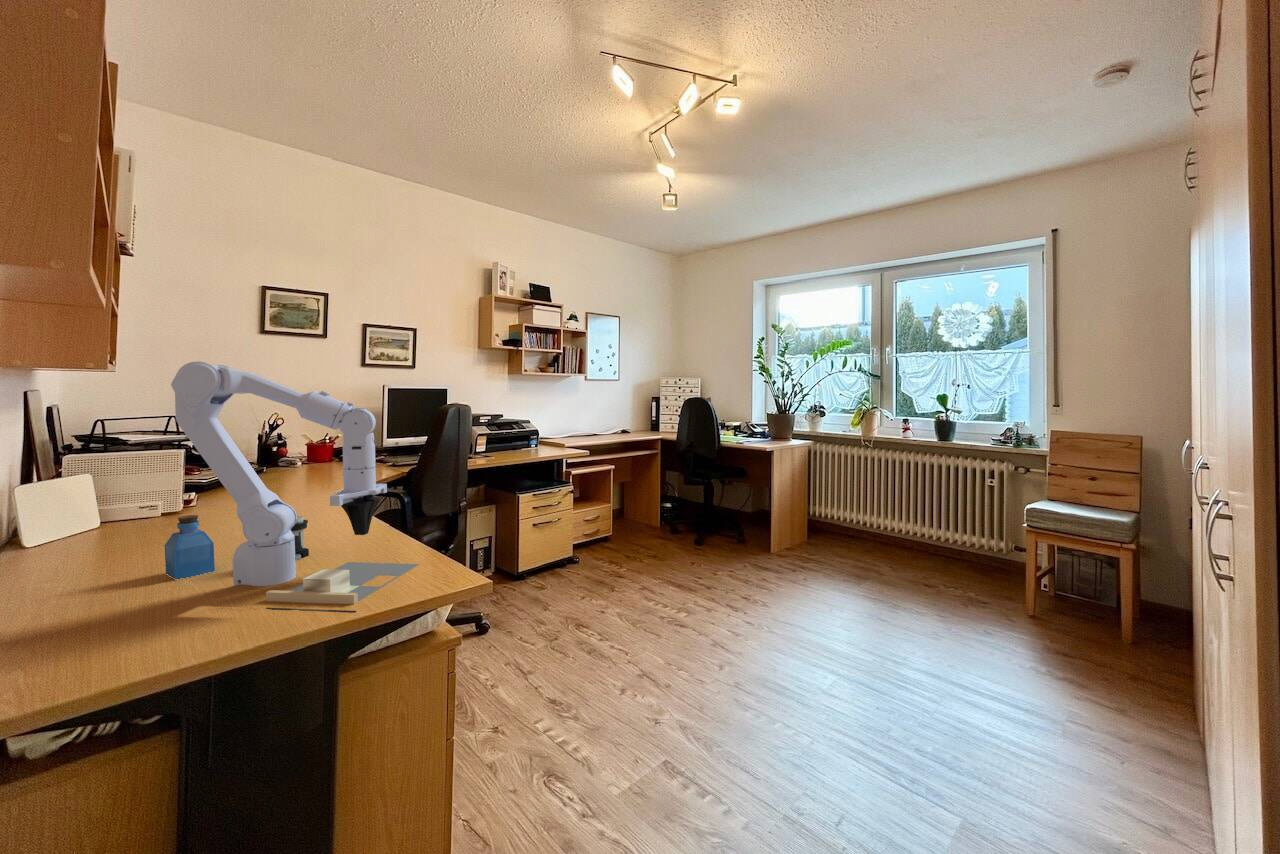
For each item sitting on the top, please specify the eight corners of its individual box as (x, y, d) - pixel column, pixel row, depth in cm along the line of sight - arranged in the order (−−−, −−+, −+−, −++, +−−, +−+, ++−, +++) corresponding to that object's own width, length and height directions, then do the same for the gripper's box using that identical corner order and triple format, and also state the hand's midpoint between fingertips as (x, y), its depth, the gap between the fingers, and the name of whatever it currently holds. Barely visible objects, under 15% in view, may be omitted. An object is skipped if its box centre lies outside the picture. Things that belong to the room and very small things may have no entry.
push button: (282, 569, 106) (280, 523, 106) (268, 565, 109) (266, 520, 108) (314, 560, 112) (312, 516, 112) (300, 557, 115) (298, 514, 114)
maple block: (303, 598, 86) (302, 578, 86) (324, 587, 91) (323, 569, 91) (330, 599, 86) (330, 579, 86) (350, 588, 91) (349, 569, 91)
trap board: (266, 609, 85) (265, 592, 85) (348, 569, 106) (348, 555, 106) (354, 612, 84) (353, 595, 84) (419, 571, 105) (419, 557, 105)
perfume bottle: (214, 571, 105) (212, 515, 104) (176, 580, 100) (173, 521, 99) (204, 566, 108) (201, 512, 108) (165, 574, 103) (163, 517, 103)
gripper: (353, 472, 93) (355, 544, 93) (399, 463, 107) (400, 525, 108) (318, 472, 94) (320, 543, 94) (368, 463, 108) (370, 525, 109)
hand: (361, 534), depth 101 cm, fingers closed
